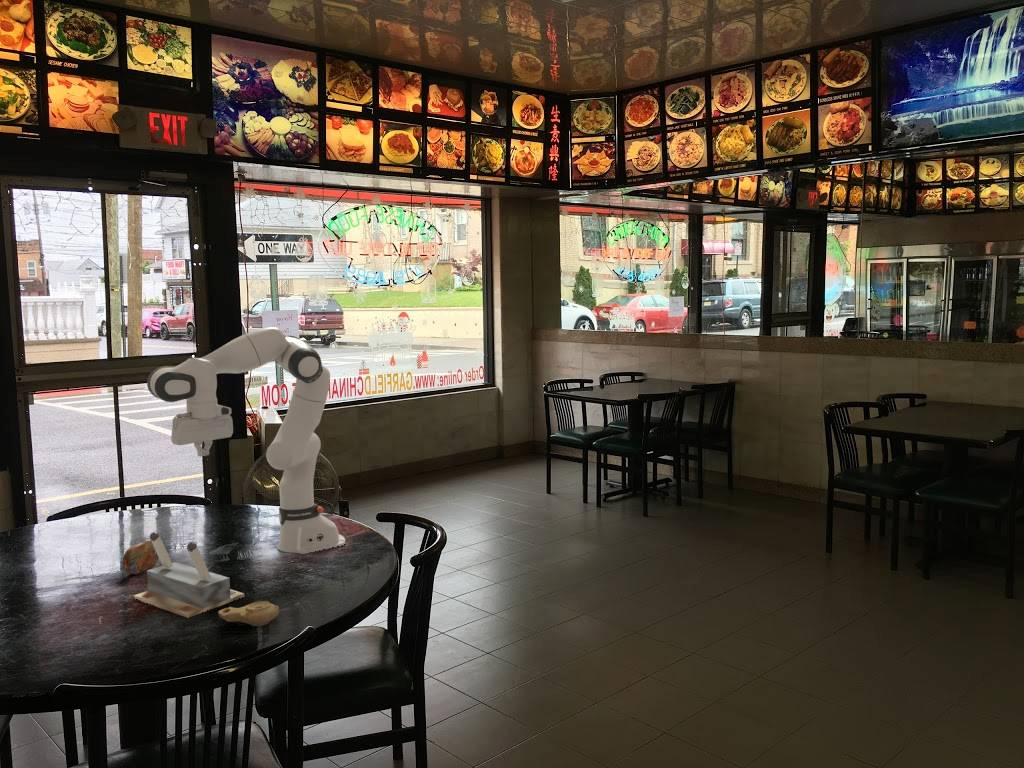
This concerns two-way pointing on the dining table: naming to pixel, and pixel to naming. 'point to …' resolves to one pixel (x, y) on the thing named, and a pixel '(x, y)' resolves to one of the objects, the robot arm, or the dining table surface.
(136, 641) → the dining table surface
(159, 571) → the switch box
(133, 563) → the tin
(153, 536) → the lever
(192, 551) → the lever
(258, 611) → the oil lamp
